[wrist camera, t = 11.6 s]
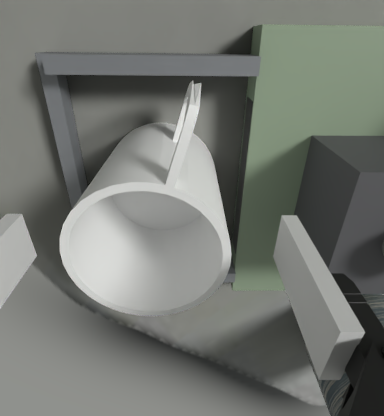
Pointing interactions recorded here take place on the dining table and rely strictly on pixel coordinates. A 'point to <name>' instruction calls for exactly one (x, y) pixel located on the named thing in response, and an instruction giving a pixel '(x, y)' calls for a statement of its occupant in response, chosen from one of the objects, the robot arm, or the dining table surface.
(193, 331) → the dining table surface
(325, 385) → the vase
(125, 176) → the cup
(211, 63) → the square frame with panel
